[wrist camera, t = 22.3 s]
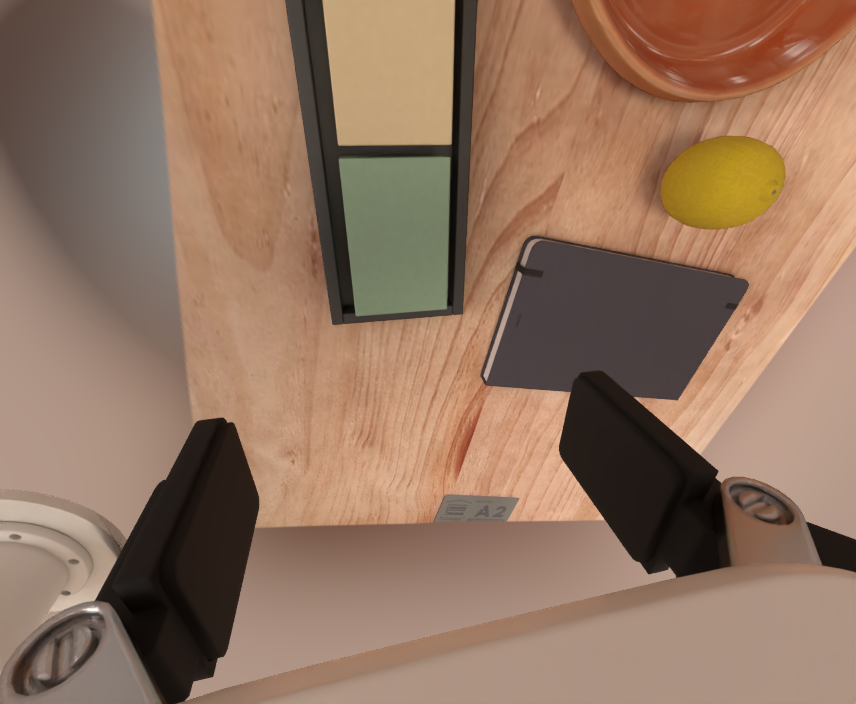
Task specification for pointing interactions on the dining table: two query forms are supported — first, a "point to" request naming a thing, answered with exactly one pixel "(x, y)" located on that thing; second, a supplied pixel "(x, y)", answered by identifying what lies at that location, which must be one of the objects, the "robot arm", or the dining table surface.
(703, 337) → the notebook
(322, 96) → the tray
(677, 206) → the lemon
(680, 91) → the saucer
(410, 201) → the pad
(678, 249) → the dining table surface
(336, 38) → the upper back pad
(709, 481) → the robot arm
